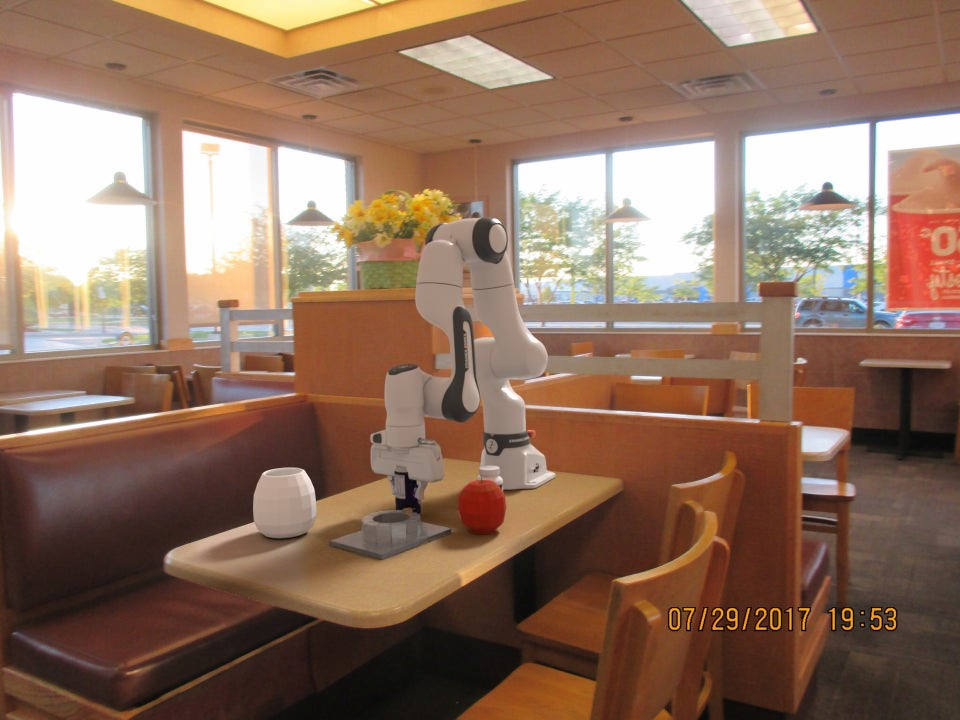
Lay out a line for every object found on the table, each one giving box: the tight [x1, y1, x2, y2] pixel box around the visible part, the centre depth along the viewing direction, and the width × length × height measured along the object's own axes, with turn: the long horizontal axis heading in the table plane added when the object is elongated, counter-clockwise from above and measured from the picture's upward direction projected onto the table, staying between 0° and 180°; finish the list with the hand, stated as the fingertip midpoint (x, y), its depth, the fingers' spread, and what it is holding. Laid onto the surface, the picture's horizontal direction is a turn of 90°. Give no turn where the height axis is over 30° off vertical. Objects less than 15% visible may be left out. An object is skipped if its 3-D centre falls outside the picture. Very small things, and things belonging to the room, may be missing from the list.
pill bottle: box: [475, 466, 504, 492], centre depth 171 cm, size 6×6×11 cm
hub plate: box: [329, 508, 452, 561], centre depth 155 cm, size 20×15×5 cm
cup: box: [252, 467, 317, 539], centre depth 161 cm, size 13×13×14 cm
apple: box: [457, 478, 507, 535], centre depth 159 cm, size 10×10×12 cm
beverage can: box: [394, 466, 422, 515], centre depth 171 cm, size 6×6×12 cm
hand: (407, 496), depth 172 cm, fingers closed on beverage can, 6 cm apart
